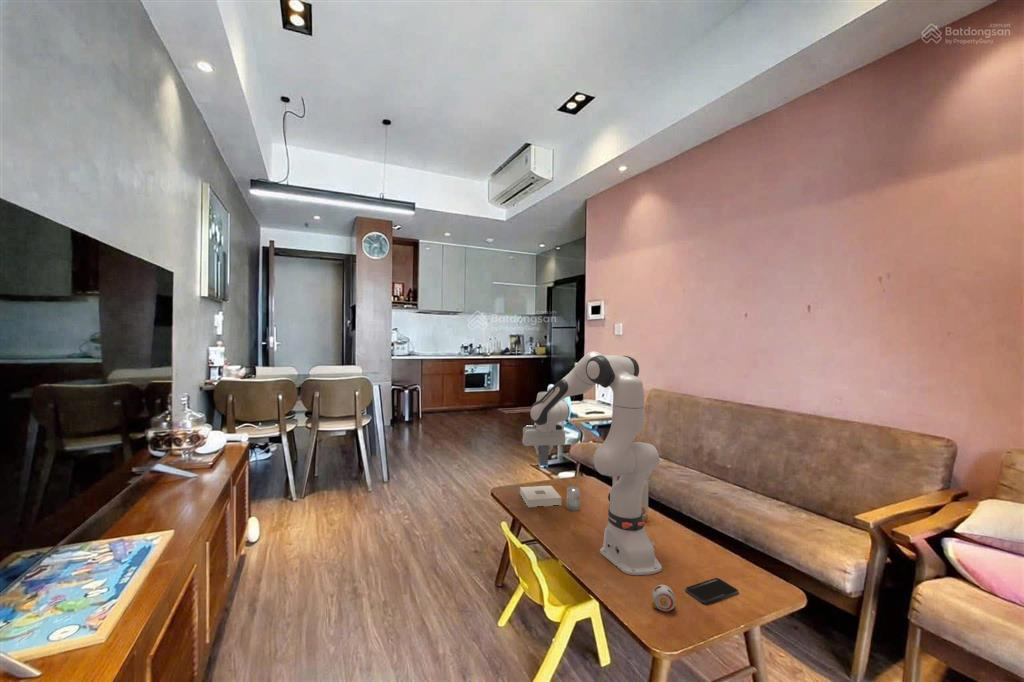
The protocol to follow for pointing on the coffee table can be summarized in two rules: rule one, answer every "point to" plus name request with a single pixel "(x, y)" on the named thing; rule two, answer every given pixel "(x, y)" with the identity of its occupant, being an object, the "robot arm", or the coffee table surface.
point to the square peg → (543, 455)
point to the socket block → (540, 496)
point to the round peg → (573, 498)
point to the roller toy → (663, 598)
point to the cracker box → (644, 499)
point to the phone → (711, 591)
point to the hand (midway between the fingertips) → (543, 454)
